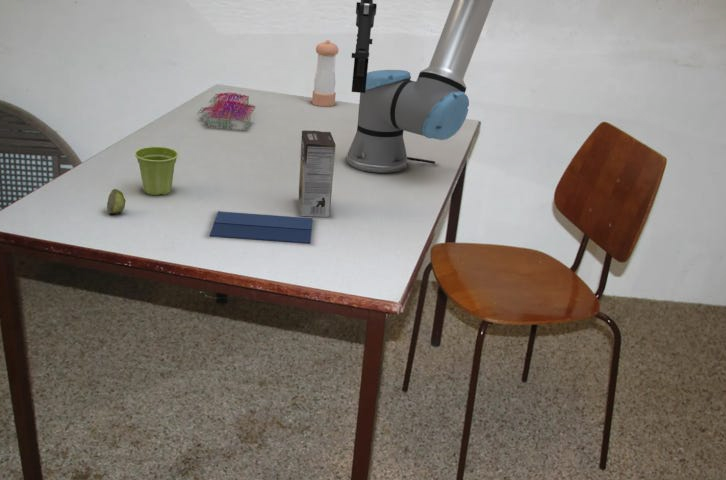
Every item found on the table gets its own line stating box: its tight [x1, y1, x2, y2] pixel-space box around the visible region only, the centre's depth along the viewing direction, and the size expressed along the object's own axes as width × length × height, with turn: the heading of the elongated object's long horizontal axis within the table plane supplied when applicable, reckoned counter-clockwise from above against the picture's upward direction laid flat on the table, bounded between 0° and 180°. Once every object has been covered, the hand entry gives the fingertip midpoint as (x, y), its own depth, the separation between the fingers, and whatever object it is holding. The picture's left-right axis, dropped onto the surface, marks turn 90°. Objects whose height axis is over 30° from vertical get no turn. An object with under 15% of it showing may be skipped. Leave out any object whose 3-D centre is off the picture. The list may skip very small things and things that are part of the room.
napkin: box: [209, 210, 313, 244], centre depth 163 cm, size 20×12×1 cm, turn 87°
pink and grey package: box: [196, 91, 257, 131], centre depth 232 cm, size 30×15×5 cm, turn 173°
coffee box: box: [297, 130, 336, 218], centre depth 170 cm, size 9×6×16 cm
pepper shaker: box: [311, 39, 340, 107], centre depth 247 cm, size 7×7×19 cm
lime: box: [106, 188, 126, 215], centre depth 165 cm, size 4×5×5 cm
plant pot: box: [134, 146, 179, 196], centre depth 176 cm, size 9×9×9 cm
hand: (358, 84), depth 163 cm, fingers open, 13 cm apart
